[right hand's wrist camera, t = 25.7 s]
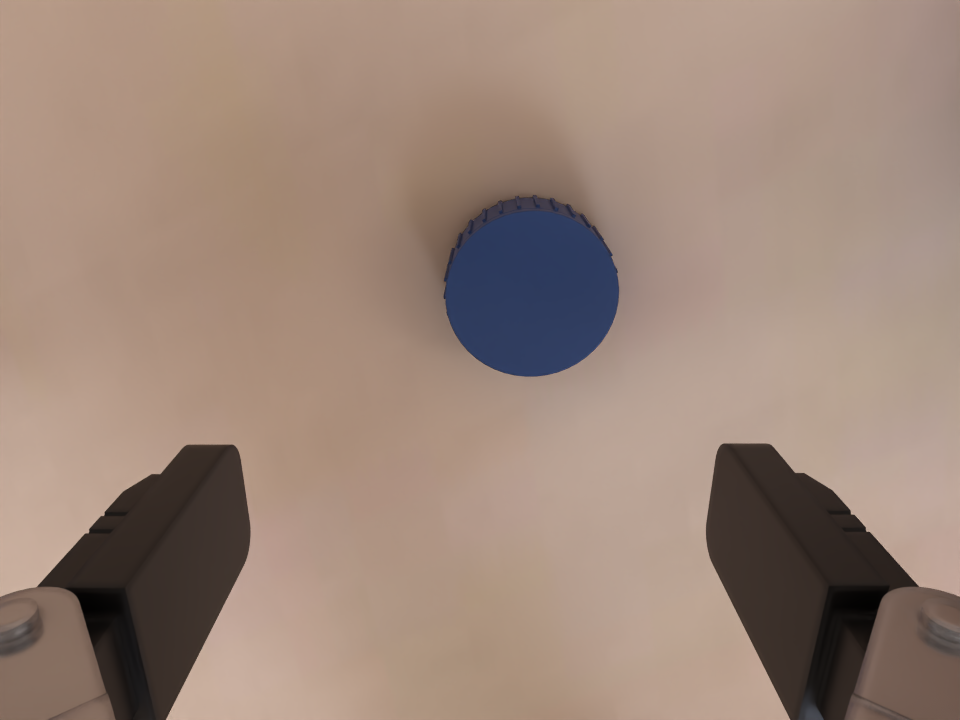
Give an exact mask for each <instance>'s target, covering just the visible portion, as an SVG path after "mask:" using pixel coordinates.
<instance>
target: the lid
mask: <svg viewBox="0 0 960 720" xmlns="http://www.w3.org/2000/svg"><path fill="white" fill-rule="evenodd" d="M603 240H604V239H603V238H602V236H601V235H600V233H599V232H598V231H597V229H596V228H595V226H593V227H591V225H590V223H589V222H588V220H587V219H586V217H585V216H584V215H583V214H581V215H579V214H578V213H576V212H575V211H574V210H573V209H572V208H571V206H570V205H568V204H567V205H566V206H565V205H562V204H560V203H558V202H555V200H554V199H553V198H550V200H547V199H541V198H537V196H536V195H533V198H519V196H516V197H515V199H513V200H509V201H506V202H502V201H498V205H495V206H493V207H491V208H490V209H488V210H486V209H483V210H482V214H481V215H479V216H478V217H477V218H475V219H474V220H472V219H471V220H470V221H469V225H468V227H467V228H466V229H465V231H464V232H463V234H462V233H460V234H459V235H458V240H457V244H456V247H455V249H454V248H452V250H451V253H450V258H449V262H448V265H447V270H446V274H445V278H444V281H446V287H445V292H444V299H446V309H447V316H448V317H449V321H450V324H451V326H452V328H453V330H454V332H455V334H456V336H457V337H458V339H459V341H460V342H461V343H462V345H463V346H464V347H465V348H466V349H467V350H468V351H469V352H470V353H471V354H472V355H473V356H474V357H475V358H476V359H478V360H479V361H481V362H482V363H484V364H485V365H487V366H489V367H491V368H493V369H495V370H498V371H501V372H503V373H507V374H511V375H517V376H543V375H549V374H553V373H557V372H560V371H562V370H565V369H567V368H569V367H571V366H573V365H575V364H577V363H578V362H580V361H581V360H583V359H584V358H586V357H587V356H588V355H589V354H590V353H591V352H593V351H594V350H595V349H596V347H597V346H598V345H599V344H600V343H601V342H602V340H603V339H604V337H605V336H606V334H607V333H608V331H609V329H610V327H611V325H612V323H613V320H614V317H615V314H616V310H617V305H618V298H619V285H618V277H617V273H618V272H617V269H616V267H615V266H614V263H613V260H612V258H611V256H612V253H611V251H610V250H609V248H608V247H607V245H606V244H605V242H604V241H603Z"/></svg>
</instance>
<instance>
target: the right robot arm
mask: <svg viewBox="0 0 960 720" xmlns="http://www.w3.org/2000/svg"><path fill="white" fill-rule="evenodd" d="M706 539H707V547H708V552H709V556H710V559H711V561H712V564H713V566H714V568H715V570H716V572H717V574H718V576H719V578H720V580H721V582H722V584H723V586H724V588H725V590H726V592H727V594H728V596H729V598H730V600H731V602H732V604H733V606H734V608H735V610H736V612H737V614H738V616H739V618H740V620H741V622H742V624H743V626H744V628H745V630H746V632H747V634H748V636H749V638H750V640H751V642H752V644H753V646H754V648H755V650H756V652H757V654H758V656H759V658H760V660H761V662H762V664H763V666H764V668H765V670H766V672H767V674H768V676H769V678H770V680H771V682H772V684H773V686H774V688H775V690H776V692H777V694H778V696H779V698H780V700H781V702H782V704H783V706H784V708H785V710H786V712H787V714H788V716H789V718H790V720H960V597H959V596H956V595H953V594H950V593H947V592H944V591H940V590H936V589H931V588H924V587H919V586H918V585H917V584H916V583H915V582H914V581H913V580H912V578H911V577H910V576H909V575H908V574H907V573H906V572H905V571H904V570H903V568H902V567H901V566H900V565H899V564H898V563H897V562H896V561H895V560H894V558H893V557H892V556H891V555H890V554H889V553H888V552H887V551H886V550H885V548H884V547H883V546H882V545H881V544H880V543H879V542H878V541H877V539H876V538H875V537H874V536H873V535H872V534H871V533H870V532H866V527H865V526H864V525H863V524H862V523H861V522H860V521H859V519H858V518H857V517H856V516H855V515H851V512H850V509H849V508H848V507H847V506H846V505H845V504H844V503H843V502H842V501H841V499H840V498H839V497H838V496H837V495H836V494H835V493H834V492H833V491H832V490H831V489H829V488H828V487H826V486H824V485H823V484H821V483H819V482H818V481H816V480H815V479H813V478H811V477H810V476H808V475H806V474H805V473H795V472H794V471H793V470H792V469H791V468H790V466H789V465H788V464H787V463H786V462H785V460H784V459H783V458H782V457H781V456H780V454H779V453H778V452H777V451H776V450H775V448H774V447H773V446H772V445H770V444H722V445H721V446H720V447H719V449H718V451H717V455H716V460H715V467H714V474H713V481H712V488H711V495H710V502H709V509H708V516H707V523H706ZM249 545H250V520H249V513H248V506H247V500H246V493H245V486H244V479H243V472H242V465H241V459H240V455H239V452H238V449H237V448H236V447H235V446H234V445H186V446H184V447H183V448H182V450H181V451H180V452H179V453H178V454H177V455H176V457H175V458H174V459H173V460H172V461H171V462H170V464H169V465H168V466H167V467H166V468H165V470H164V471H163V472H162V473H161V474H151V475H150V476H148V477H147V478H145V479H143V480H142V481H140V482H138V483H137V484H135V485H133V486H132V487H130V488H129V489H127V490H125V491H124V492H123V493H122V494H121V495H120V496H119V497H118V498H117V499H116V500H115V501H114V502H113V504H112V505H111V506H110V507H109V508H108V509H107V510H106V511H105V515H104V516H101V517H100V518H99V519H98V520H97V521H96V522H95V523H94V524H93V526H92V527H91V528H90V529H89V534H84V536H83V537H82V538H81V539H80V540H79V541H78V542H77V543H76V544H75V545H74V547H73V548H72V549H71V550H70V551H69V552H68V553H67V554H66V555H65V556H64V558H63V559H62V560H61V561H60V562H59V563H58V564H57V565H56V566H55V568H54V569H53V570H52V571H51V572H50V573H49V574H48V575H47V576H46V577H45V579H44V580H43V581H42V582H41V583H40V584H39V585H38V586H37V587H36V588H29V589H24V590H20V591H16V592H13V593H10V594H7V595H4V596H1V597H0V720H166V718H167V716H168V714H169V712H170V710H171V708H172V706H173V704H174V702H175V700H176V698H177V696H178V694H179V692H180V690H181V688H182V686H183V685H184V683H185V681H186V679H187V677H188V675H189V673H190V671H191V669H192V667H193V665H194V663H195V661H196V659H197V657H198V655H199V653H200V651H201V649H202V647H203V645H204V643H205V641H206V639H207V637H208V635H209V633H210V631H211V629H212V627H213V625H214V623H215V621H216V619H217V617H218V615H219V613H220V611H221V609H222V607H223V605H224V603H225V601H226V599H227V598H228V596H229V594H230V592H231V590H232V588H233V586H234V584H235V582H236V580H237V578H238V576H239V574H240V572H241V570H242V568H243V566H244V564H245V561H246V559H247V555H248V551H249Z"/></svg>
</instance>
